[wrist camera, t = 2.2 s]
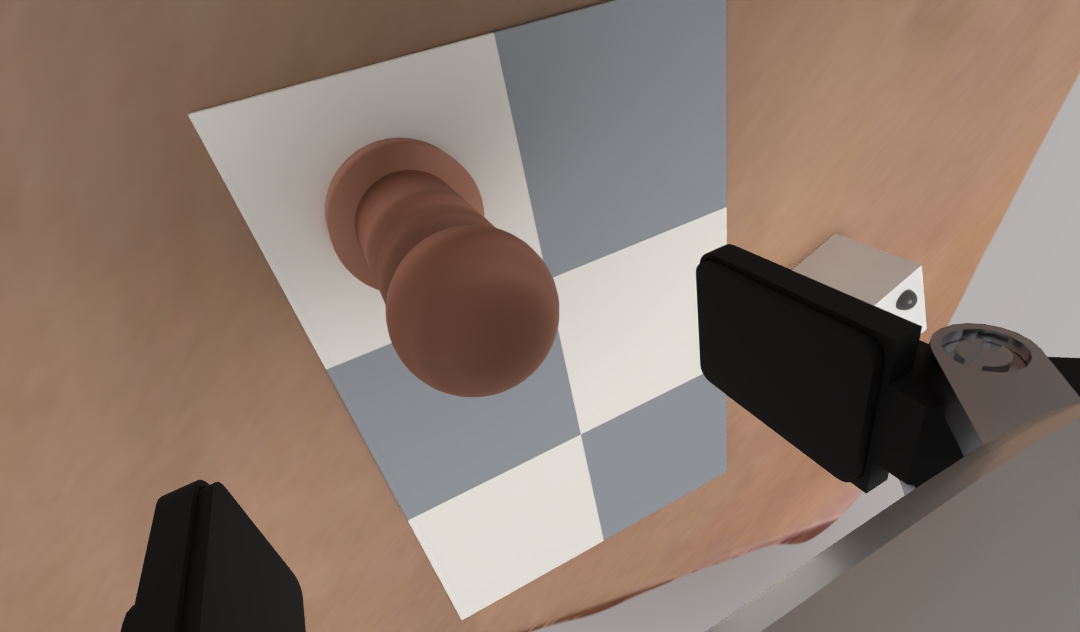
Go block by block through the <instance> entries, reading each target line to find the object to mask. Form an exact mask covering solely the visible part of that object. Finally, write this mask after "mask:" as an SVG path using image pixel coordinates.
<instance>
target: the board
mask: <svg viewBox="0 0 1080 632" xmlns="http://www.w3.org/2000/svg"><path fill="white" fill-rule="evenodd" d="M188 116H189V118H190V120H191V121H192V123H193V125H194V127H195V129H196V131H197V132H198V134H199V136H200V138H201V140H202V142H203V144H204V145H205V147H206V149H207V151H208V153H209V155H210V156H211V158H212V160H213V162H214V164H215V166H216V168H217V169H218V171H219V173H220V175H221V177H222V179H223V180H224V182H225V184H226V186H227V188H228V190H229V192H230V193H231V195H232V197H233V199H234V201H235V203H236V204H237V206H238V208H239V210H240V212H241V214H242V216H243V217H244V219H245V221H246V223H247V225H248V227H249V228H250V230H251V232H252V234H253V236H254V238H255V240H256V241H257V243H258V245H259V247H260V249H261V251H262V252H263V254H264V256H265V258H266V260H267V262H268V263H269V265H270V267H271V269H272V271H273V273H274V275H275V276H276V278H277V280H278V282H279V284H280V286H281V287H282V289H283V291H284V293H285V295H286V297H287V299H288V300H289V302H290V304H291V306H292V308H293V310H294V311H295V313H296V315H297V317H298V319H299V321H300V323H301V324H302V326H303V328H304V330H305V332H306V334H307V335H308V337H309V339H310V341H311V343H312V345H313V347H314V348H315V350H316V352H317V354H318V356H319V358H320V359H321V361H322V363H323V365H324V367H325V369H326V371H327V372H328V374H329V376H330V378H331V380H332V382H333V383H334V385H335V387H336V389H337V391H338V393H339V395H340V396H341V398H342V400H343V402H344V404H345V406H346V407H347V409H348V411H349V413H350V415H351V417H352V419H353V420H354V422H355V424H356V426H357V428H358V430H359V431H360V433H361V435H362V437H363V439H364V441H365V443H366V444H367V446H368V448H369V450H370V452H371V454H372V455H373V457H374V459H375V461H376V463H377V465H378V467H379V468H380V470H381V472H382V474H383V476H384V478H385V479H386V481H387V483H388V485H389V487H390V489H391V491H392V492H393V494H394V496H395V498H396V500H397V502H398V503H399V505H400V507H401V509H402V511H403V513H404V514H405V516H406V518H407V520H408V522H409V524H410V526H411V527H412V529H413V531H414V533H415V535H416V537H417V538H418V540H419V542H420V544H421V546H422V548H423V550H424V551H425V553H426V555H427V557H428V559H429V561H430V562H431V564H432V566H433V568H434V570H435V572H436V574H437V575H438V577H439V579H440V581H441V583H442V585H443V586H444V588H445V590H446V592H447V594H448V596H449V598H450V599H451V601H452V603H453V605H454V607H455V609H456V610H457V612H458V614H459V616H460V618H461V620H463V619H465V618H467V617H469V616H470V615H472V614H474V613H476V612H477V611H479V610H481V609H483V608H485V607H486V606H488V605H490V604H492V603H494V602H495V601H497V600H499V599H501V598H502V597H504V596H506V595H508V594H510V593H511V592H513V591H515V590H517V589H518V588H520V587H522V586H524V585H526V584H527V583H529V582H531V581H533V580H534V579H536V578H538V577H540V576H542V575H543V574H545V573H547V572H549V571H551V570H552V569H554V568H556V567H558V566H559V565H561V564H563V563H565V562H567V561H568V560H570V559H572V558H574V557H575V556H577V555H579V554H581V553H583V552H584V551H586V550H588V549H590V548H591V547H593V546H595V545H597V544H599V543H600V542H602V541H604V540H606V539H607V538H609V537H611V536H613V535H615V534H616V533H618V532H620V531H622V530H624V529H625V528H627V527H629V526H631V525H632V524H634V523H636V522H638V521H640V520H641V519H643V518H645V517H647V516H648V515H650V514H652V513H654V512H656V511H657V510H659V509H661V508H663V507H664V506H666V505H668V504H670V503H672V502H673V501H675V500H677V499H679V498H681V497H682V496H684V495H686V494H688V493H689V492H691V491H693V490H695V489H697V488H698V487H700V486H702V485H704V484H705V483H707V482H709V481H711V480H713V479H714V478H716V477H718V476H720V475H721V474H723V473H725V472H727V395H726V394H725V393H723V392H722V391H721V390H719V389H718V388H717V387H716V386H714V385H713V384H712V383H710V382H709V381H708V380H707V379H706V378H705V376H704V375H703V373H702V370H701V367H700V350H699V329H698V308H697V288H696V268H697V266H698V265H699V264H700V259H701V257H702V256H703V255H704V254H706V253H708V252H710V251H713V250H715V249H717V248H719V247H721V246H724V245H727V0H611V1H608V2H604V3H600V4H596V5H593V6H589V7H585V8H581V9H578V10H574V11H570V12H566V13H563V14H559V15H555V16H551V17H548V18H544V19H540V20H536V21H533V22H529V23H525V24H521V25H518V26H514V27H510V28H506V29H503V30H499V31H495V32H491V33H488V34H484V35H480V36H476V37H473V38H469V39H465V40H461V41H458V42H454V43H450V44H446V45H443V46H439V47H435V48H431V49H428V50H424V51H420V52H416V53H413V54H409V55H405V56H401V57H398V58H394V59H390V60H386V61H383V62H379V63H375V64H371V65H368V66H364V67H360V68H356V69H353V70H349V71H345V72H341V73H338V74H334V75H330V76H327V77H323V78H319V79H315V80H312V81H308V82H304V83H300V84H297V85H293V86H289V87H285V88H282V89H278V90H274V91H270V92H267V93H263V94H259V95H255V96H252V97H248V98H244V99H240V100H237V101H233V102H229V103H225V104H222V105H218V106H214V107H210V108H207V109H203V110H199V111H195V112H192V113H189V114H188ZM389 138H411V139H416V140H420V141H424V142H427V143H429V144H431V145H433V146H436V147H438V148H439V149H441V150H442V151H444V152H445V153H447V154H448V155H449V156H451V157H452V158H454V159H455V160H456V161H457V162H459V163H460V164H461V165H462V166H463V167H464V168H465V169H466V170H467V171H468V173H469V174H470V175H471V177H472V178H473V180H474V181H475V183H476V185H477V187H478V189H479V192H480V195H481V197H482V201H483V206H484V217H485V218H486V219H487V220H488V221H489V222H490V223H491V224H492V225H494V226H495V227H496V228H498V229H501V230H504V231H506V232H508V233H511V234H513V235H514V236H516V237H518V238H519V239H521V240H523V241H524V242H525V243H527V244H528V245H529V246H530V247H531V248H532V249H533V250H534V251H535V252H536V253H537V254H538V255H539V256H540V257H541V258H542V260H543V261H544V263H545V264H546V266H547V267H548V269H549V271H550V273H551V275H552V277H553V279H554V282H555V286H556V289H557V293H558V298H559V325H558V330H557V333H556V337H555V340H554V343H553V345H552V348H551V350H550V351H549V353H548V355H547V357H546V358H545V360H544V361H543V363H542V364H541V365H540V366H539V367H538V369H537V370H536V371H535V372H534V373H533V374H532V375H530V376H529V377H528V378H527V379H525V380H524V381H523V382H521V383H520V384H518V385H517V386H515V387H513V388H511V389H509V390H507V391H504V392H502V393H499V394H495V395H491V396H485V397H460V396H455V395H450V394H447V393H444V392H441V391H438V390H436V389H434V388H432V387H430V386H429V385H427V384H425V383H424V382H423V381H421V380H420V379H418V378H417V377H416V376H415V375H414V374H413V373H412V372H411V371H410V370H409V369H408V368H407V367H406V366H405V365H404V363H403V362H402V361H401V359H400V358H399V356H398V354H397V353H396V351H395V349H394V347H393V345H392V342H391V339H390V337H389V333H388V329H387V323H386V305H385V303H384V300H383V298H382V296H381V293H380V291H379V290H377V289H374V288H372V287H370V286H368V285H366V284H364V283H363V282H361V281H360V280H358V279H357V278H356V277H354V276H353V275H352V274H351V273H350V272H349V271H348V270H347V269H346V268H345V266H344V265H343V264H342V262H341V261H340V259H339V258H338V256H337V254H336V252H335V250H334V247H333V245H332V242H331V239H330V235H329V232H328V228H327V224H326V218H325V202H326V196H327V192H328V188H329V186H330V183H331V181H332V179H333V177H334V175H335V173H336V172H337V170H338V169H339V168H340V166H341V165H342V164H343V163H344V162H345V161H346V160H347V159H348V158H349V157H350V156H351V155H352V154H353V153H355V152H356V151H357V150H359V149H361V148H363V147H364V146H366V145H368V144H371V143H373V142H376V141H379V140H384V139H389Z"/></svg>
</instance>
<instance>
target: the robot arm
mask: <svg viewBox="0 0 1080 632" xmlns="http://www.w3.org/2000/svg"><path fill="white" fill-rule="evenodd" d="M696 288H697V308H698V329H699V350H700V367H701V370H702V373H703V375H704V376H705V378H706V379H707V380H708V381H709V382H710V383H712V384H713V385H714V386H716V387H717V388H718V389H719V390H721V391H722V392H723V393H725V394H726V395H727V396H729V397H730V398H731V399H733V400H734V401H735V402H737V403H738V404H739V405H741V406H742V407H743V408H745V409H746V410H747V411H749V412H750V413H751V414H753V415H754V416H755V417H757V418H758V419H759V420H761V421H762V422H763V423H765V424H766V425H767V426H768V427H770V428H771V429H772V430H774V431H775V432H776V433H778V434H779V435H780V436H782V437H783V438H784V439H786V440H787V441H788V442H790V443H791V444H792V445H794V446H795V447H796V448H798V449H799V450H800V451H802V452H803V453H804V454H806V455H807V456H808V457H810V458H811V459H812V460H813V461H815V462H816V463H817V464H819V465H820V466H821V467H823V468H824V469H825V470H827V471H828V472H829V473H831V474H832V475H833V476H835V477H836V478H838V479H839V480H841V481H844V482H851V483H853V484H854V485H855V486H857V487H858V488H859V489H861V490H862V491H863V492H865V493H868V492H869V491H871V490H872V489H874V488H875V487H877V486H878V485H880V484H881V483H883V482H884V481H886V480H887V478H888V474H889V473H891V474H892V475H894V476H895V477H897V478H898V479H899V480H900V483H901V485H902V488H903V491H904V494H905V496H904V497H902V498H901V499H899V500H898V501H896V502H895V503H893V504H892V505H890V506H889V507H888V508H886V509H885V510H883V511H882V512H880V513H879V514H877V515H876V516H874V517H873V518H872V519H870V520H868V521H867V522H865V523H864V524H863V525H861V526H860V527H858V528H857V529H855V530H854V531H852V532H851V533H849V534H848V535H846V536H845V537H843V538H842V539H840V540H839V541H838V542H836V543H834V544H833V545H832V546H830V547H829V548H827V549H826V550H824V551H823V552H821V553H820V554H818V555H817V556H815V557H814V558H812V559H811V560H809V561H808V562H806V563H805V564H804V565H802V566H801V567H799V568H798V569H796V570H795V571H793V572H792V573H791V574H789V575H788V576H786V577H785V578H783V579H782V580H780V581H779V582H778V583H776V584H774V585H773V586H771V587H770V588H769V589H767V590H766V591H764V592H763V593H761V594H760V595H758V596H757V597H756V598H754V599H753V600H751V601H750V602H748V603H747V604H745V605H744V606H742V607H741V608H739V609H738V610H736V611H735V612H734V613H732V614H731V615H729V616H728V617H726V618H725V619H724V620H722V621H720V622H719V623H718V624H716V625H715V626H713V627H712V628H710V629H709V630H707V631H706V632H1080V358H1060V357H1047V356H1046V355H1045V353H1044V352H1043V351H1042V350H1041V349H1040V348H1039V347H1038V346H1037V345H1036V344H1035V343H1033V342H1032V341H1031V340H1030V339H1027V338H1026V337H1024V336H1022V335H1020V334H1018V333H1016V332H1013V331H1010V330H1007V329H1004V328H1001V327H996V326H991V325H986V324H971V323H964V324H954V325H950V326H947V327H944V328H941V329H939V330H938V331H936V332H935V333H934V334H933V335H932V337H931V339H930V342H929V344H927V343H925V342H923V341H920V340H919V338H920V334H921V330H922V326H920V325H918V324H916V323H913V322H911V321H909V320H906V319H904V318H902V317H899V316H897V315H895V314H892V313H890V312H888V311H885V310H883V309H881V308H878V307H876V306H874V305H871V304H869V303H867V302H864V301H862V300H860V299H858V298H855V297H853V296H851V295H848V294H846V293H844V292H841V291H839V290H837V289H834V288H832V287H830V286H827V285H825V284H823V283H820V282H818V281H816V280H813V279H811V278H809V277H806V276H804V275H802V274H799V273H797V272H795V271H792V270H790V269H788V268H786V267H783V266H781V265H779V264H776V263H774V262H772V261H769V260H767V259H765V258H762V257H760V256H758V255H755V254H753V253H751V252H748V251H746V250H744V249H741V248H739V247H737V246H734V245H731V244H727V245H724V246H721V247H719V248H717V249H715V250H713V251H710V252H708V253H706V254H704V255H703V256H702V257H701V259H700V264H699V265H698V266H697V268H696ZM121 632H306V630H305V618H304V606H303V596H302V591H301V587H300V585H299V582H298V580H297V578H296V576H295V575H294V574H293V572H292V571H291V570H290V568H289V567H288V566H287V565H286V563H285V562H284V561H283V560H282V558H281V557H280V556H279V555H278V553H277V552H276V551H275V550H274V548H273V547H272V546H271V544H270V543H269V542H268V541H267V539H266V538H265V537H264V536H263V534H262V533H261V532H260V531H259V529H258V528H257V527H256V526H255V524H254V523H253V522H252V520H251V519H250V518H249V517H248V515H247V514H246V513H245V512H244V510H243V509H242V508H241V507H240V505H239V504H238V503H237V502H236V500H235V499H234V498H233V496H232V495H231V494H230V493H229V491H228V490H227V489H226V488H225V487H224V485H223V484H221V483H220V482H215V483H213V484H211V485H209V484H208V483H207V482H205V481H203V480H197V481H195V482H193V483H191V484H188V485H186V486H184V487H182V488H179V489H177V490H175V491H173V492H170V493H168V494H166V495H164V496H162V497H160V498H159V499H158V501H157V504H156V508H155V513H154V517H153V522H152V527H151V531H150V536H149V541H148V545H147V550H146V555H145V559H144V564H143V569H142V573H141V578H140V583H139V587H138V592H137V597H136V601H135V605H133V606H132V607H131V608H130V610H129V611H128V612H127V613H126V616H125V619H124V621H123V624H122V628H121Z"/></svg>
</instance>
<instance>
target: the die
mask: <svg viewBox="0 0 1080 632" xmlns="http://www.w3.org/2000/svg"><path fill="white" fill-rule="evenodd" d="M792 271H795V272H797V273H799V274H802V275H804V276H806V277H809V278H811V279H813V280H816V281H818V282H820V283H823V284H825V285H827V286H830V287H832V288H834V289H837V290H839V291H841V292H844V293H846V294H848V295H851V296H853V297H855V298H858V299H860V300H862V301H864V302H867V303H869V304H871V305H874V306H876V307H878V308H881V309H883V310H885V311H888V312H890V313H892V314H895V315H897V316H899V317H902V318H904V319H906V320H909V321H911V322H913V323H916V324H918V325H920V326H922V330H921V333H922V332H924V331H925V330H926V329H927V328H926V315H925V302H924V289H923V276H922V265H920V264H917V263H915V262H912V261H909V260H906V259H904V258H901V257H898V256H895V255H893V254H890V253H887V252H885V251H882V250H879V249H876V248H874V247H871V246H868V245H865V244H863V243H860V242H857V241H855V240H852V239H849V238H846V237H844V236H841V235H838V234H836V233H835V234H834V235H833V236H832V237H831V238H829V239H828V240H827V241H826V242H825V243H823V244H822V245H821V246H820V247H819V248H817V249H816V250H815V251H814V252H813V253H811V254H810V255H809V256H808V257H807V258H806V259H804V260H803V261H802V262H801V263H800V264H798V265H797V266H796V267H795V268H794V269H792Z"/></svg>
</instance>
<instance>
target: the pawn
mask: <svg viewBox="0 0 1080 632" xmlns="http://www.w3.org/2000/svg"><path fill="white" fill-rule="evenodd" d="M325 218H326V224H327V228H328V232H329V235H330V239H331V242H332V245H333V247H334V250H335V252H336V254H337V256H338V258H339V259H340V261H341V262H342V264H343V265H344V266H345V268H346V269H347V270H348V271H349V272H350V273H351V274H352V275H353V276H354V277H356V278H357V279H358V280H360V281H361V282H363V283H364V284H366V285H368V286H370V287H372V288H374V289H377V290H379V291H380V293H381V296H382V298H383V300H384V303H385V305H386V323H387V329H388V333H389V337H390V339H391V342H392V345H393V347H394V349H395V351H396V353H397V354H398V356H399V358H400V359H401V361H402V362H403V363H404V365H405V366H406V367H407V368H408V369H409V370H410V371H411V372H412V373H413V374H414V375H415V376H416V377H417V378H418V379H420V380H421V381H423V382H424V383H425V384H427V385H429V386H430V387H432V388H434V389H436V390H438V391H441V392H444V393H447V394H450V395H455V396H460V397H485V396H491V395H495V394H499V393H502V392H504V391H507V390H509V389H511V388H513V387H515V386H517V385H518V384H520V383H521V382H523V381H524V380H525V379H527V378H528V377H529V376H530V375H532V374H533V373H534V372H535V371H536V370H537V369H538V367H539V366H540V365H541V364H542V363H543V361H544V360H545V358H546V357H547V355H548V353H549V351H550V350H551V348H552V345H553V343H554V340H555V337H556V333H557V330H558V325H559V298H558V293H557V289H556V286H555V282H554V279H553V277H552V275H551V273H550V271H549V269H548V267H547V266H546V264H545V263H544V261H543V260H542V258H541V257H540V256H539V255H538V254H537V253H536V252H535V251H534V250H533V249H532V248H531V247H530V246H529V245H528V244H527V243H525V242H524V241H523V240H521V239H519V238H518V237H516V236H514V235H513V234H511V233H508V232H506V231H504V230H501V229H498V228H496V227H495V226H494V225H492V224H491V223H490V222H489V221H488V220H487V219H486V218H485V217H484V206H483V201H482V197H481V195H480V192H479V189H478V187H477V185H476V183H475V181H474V180H473V178H472V177H471V175H470V174H469V173H468V171H467V170H466V169H465V168H464V167H463V166H462V165H461V164H460V163H459V162H457V161H456V160H455V159H454V158H452V157H451V156H449V155H448V154H447V153H445V152H444V151H442V150H441V149H439V148H438V147H436V146H433V145H431V144H429V143H427V142H424V141H420V140H416V139H411V138H389V139H384V140H379V141H376V142H373V143H371V144H368V145H366V146H364V147H363V148H361V149H359V150H357V151H356V152H355V153H353V154H352V155H351V156H350V157H349V158H348V159H347V160H346V161H345V162H344V163H343V164H342V165H341V166H340V168H339V169H338V170H337V172H336V173H335V175H334V177H333V179H332V181H331V183H330V186H329V188H328V192H327V196H326V202H325Z"/></svg>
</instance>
